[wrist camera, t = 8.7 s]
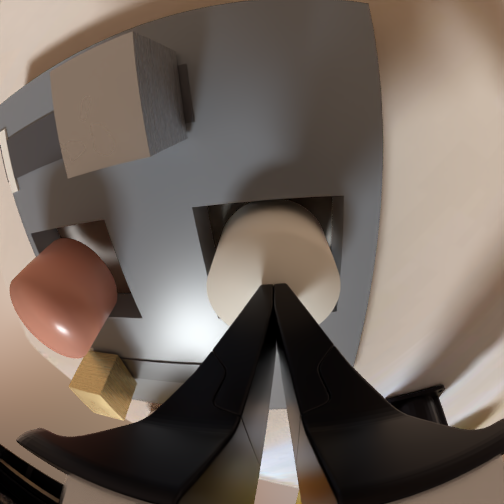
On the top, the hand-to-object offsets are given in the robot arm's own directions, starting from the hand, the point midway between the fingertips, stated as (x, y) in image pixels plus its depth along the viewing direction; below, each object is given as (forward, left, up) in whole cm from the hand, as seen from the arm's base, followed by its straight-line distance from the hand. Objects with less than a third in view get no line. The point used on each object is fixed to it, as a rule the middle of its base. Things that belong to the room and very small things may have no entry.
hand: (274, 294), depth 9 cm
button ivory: (0, 0, -3) cm, 3 cm away
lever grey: (+4, -7, -1) cm, 8 cm away
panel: (+4, +1, -4) cm, 5 cm away
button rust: (+9, 0, -1) cm, 9 cm away
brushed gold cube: (+11, +7, -1) cm, 13 cm away
